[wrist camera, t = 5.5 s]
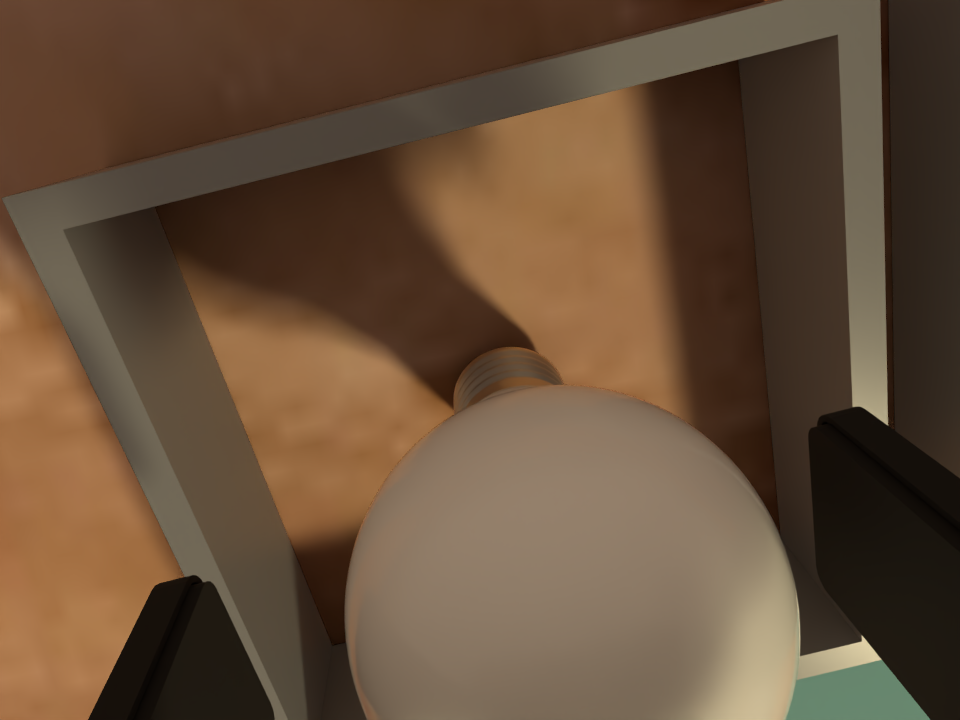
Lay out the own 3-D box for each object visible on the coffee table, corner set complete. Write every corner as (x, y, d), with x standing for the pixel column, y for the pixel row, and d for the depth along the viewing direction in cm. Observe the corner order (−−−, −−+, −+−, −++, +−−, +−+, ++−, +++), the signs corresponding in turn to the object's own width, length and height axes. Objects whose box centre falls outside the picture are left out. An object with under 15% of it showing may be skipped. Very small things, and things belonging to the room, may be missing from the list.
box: (766, 0, 15) (879, -25, 11) (806, 551, 20) (892, 657, 17) (104, 168, 15) (1, 198, 12) (316, 669, 21) (293, 800, 17)
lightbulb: (651, 460, 19) (922, 910, 9) (420, 524, 19) (418, 1038, 9) (604, 230, 17) (899, 475, 6) (341, 305, 17) (215, 660, 7)
